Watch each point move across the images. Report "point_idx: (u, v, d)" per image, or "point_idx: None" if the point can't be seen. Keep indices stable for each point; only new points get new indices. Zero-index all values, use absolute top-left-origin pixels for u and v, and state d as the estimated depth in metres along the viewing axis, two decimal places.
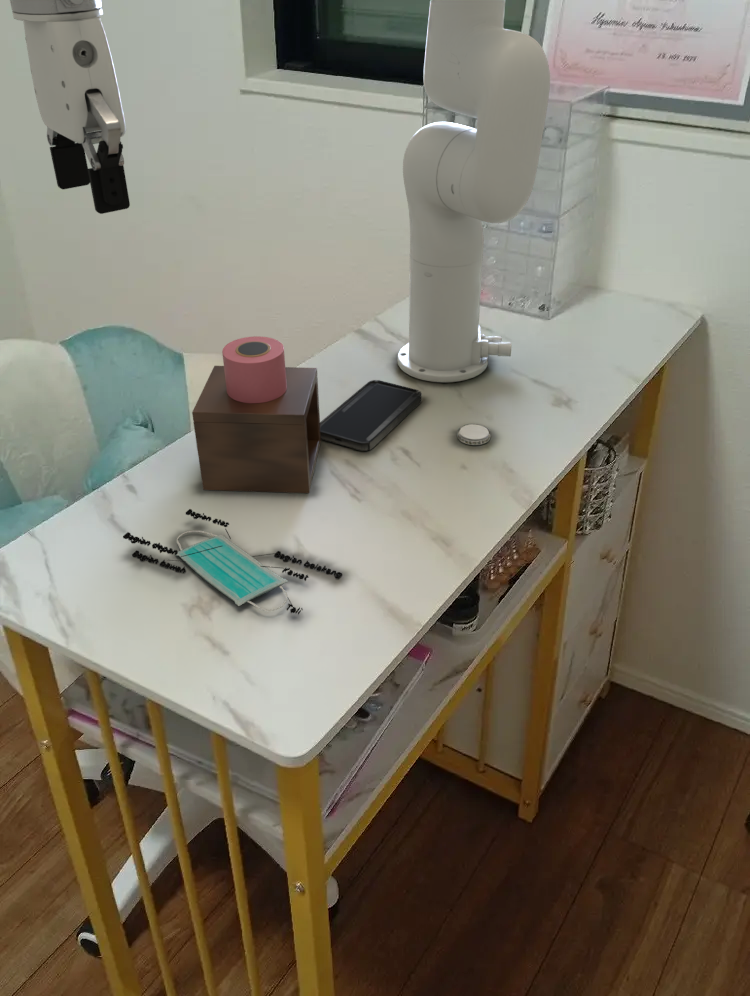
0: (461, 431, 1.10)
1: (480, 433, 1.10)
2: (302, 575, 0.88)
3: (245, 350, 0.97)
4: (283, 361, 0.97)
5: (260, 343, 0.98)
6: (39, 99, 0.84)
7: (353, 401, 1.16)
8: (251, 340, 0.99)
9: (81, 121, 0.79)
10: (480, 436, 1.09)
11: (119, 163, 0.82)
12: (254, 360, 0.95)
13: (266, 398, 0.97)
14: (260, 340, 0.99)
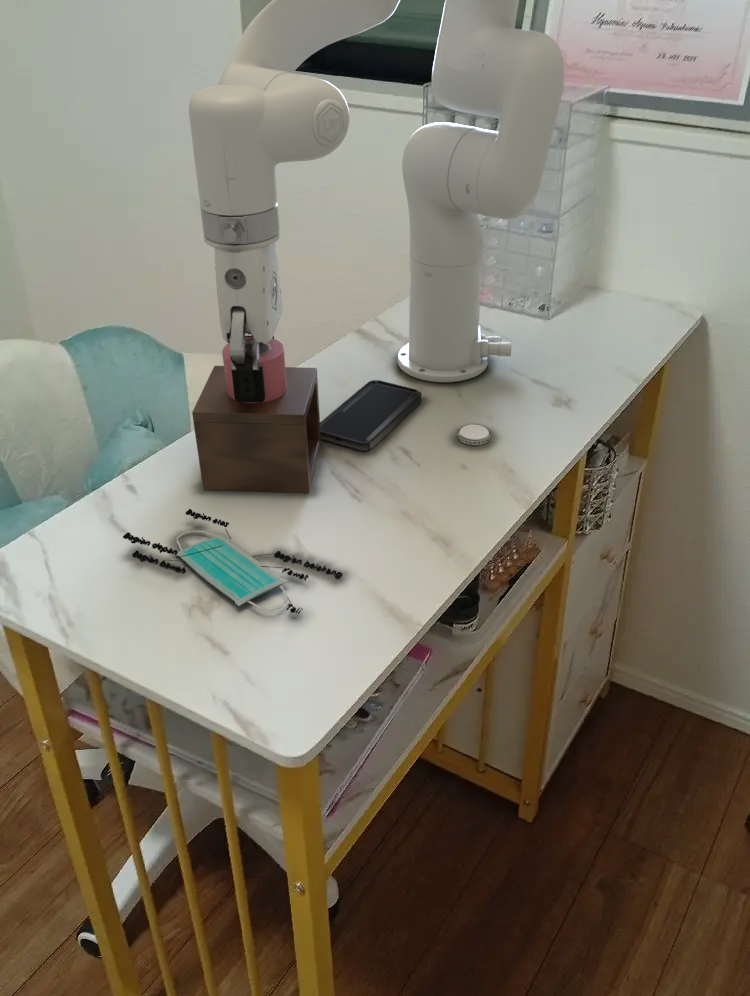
0: (461, 431, 1.10)
1: (480, 433, 1.10)
2: (302, 575, 0.88)
3: None
4: (283, 361, 0.97)
5: (260, 343, 0.98)
6: None
7: (353, 401, 1.16)
8: None
9: (227, 334, 0.91)
10: (480, 436, 1.09)
11: (253, 370, 0.93)
12: None
13: (266, 398, 0.97)
14: None
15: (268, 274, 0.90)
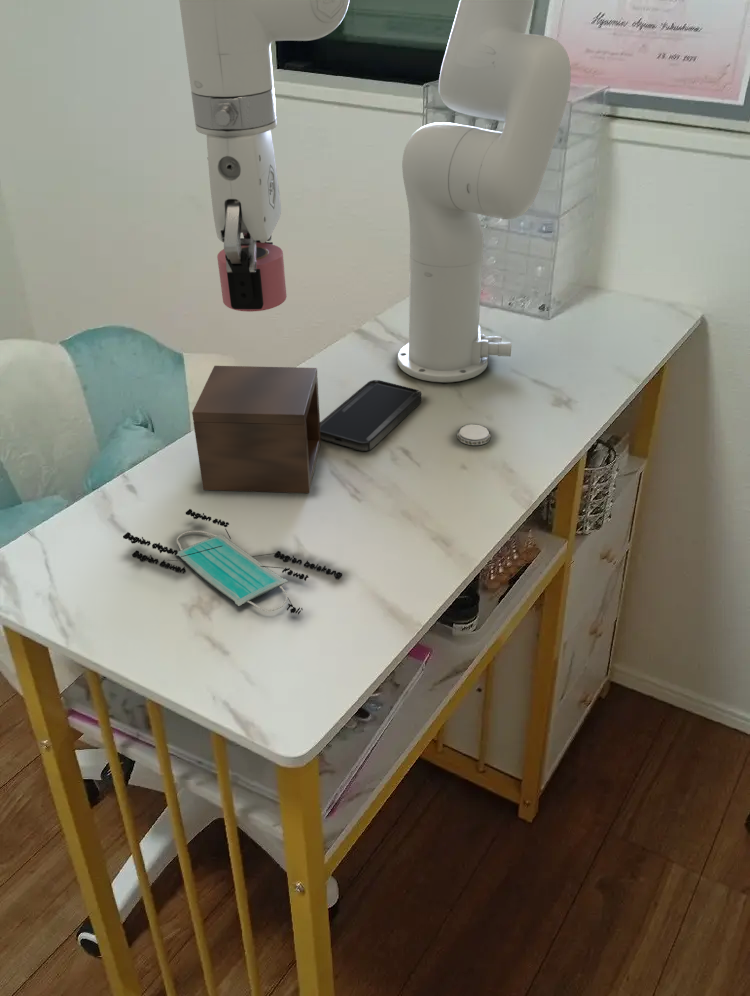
0: (461, 431, 1.10)
1: (480, 433, 1.10)
2: (302, 575, 0.88)
3: None
4: (282, 266, 0.92)
5: (258, 248, 0.92)
6: None
7: (353, 401, 1.16)
8: (248, 246, 0.93)
9: (221, 232, 0.85)
10: (480, 436, 1.09)
11: (250, 272, 0.87)
12: None
13: (265, 306, 0.92)
14: (258, 245, 0.93)
15: (265, 165, 0.84)
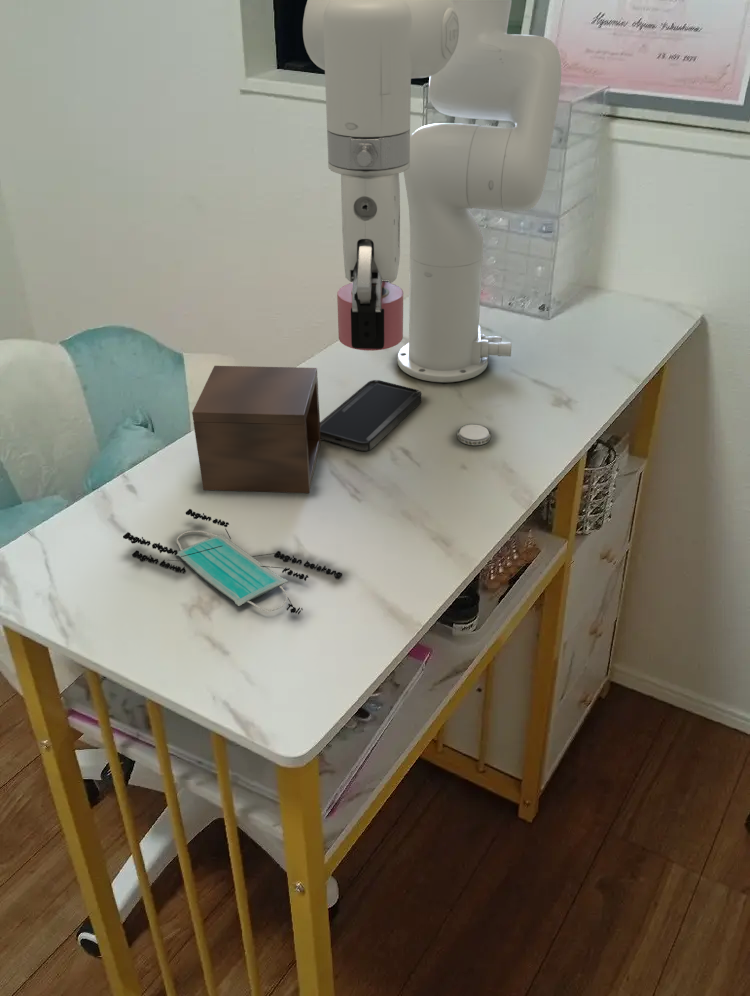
0: (461, 431, 1.10)
1: (480, 433, 1.10)
2: (302, 575, 0.88)
3: None
4: (402, 305, 0.90)
5: None
6: None
7: (353, 401, 1.16)
8: None
9: (350, 271, 0.84)
10: (480, 436, 1.09)
11: (376, 312, 0.86)
12: None
13: (384, 345, 0.90)
14: None
15: (397, 206, 0.83)
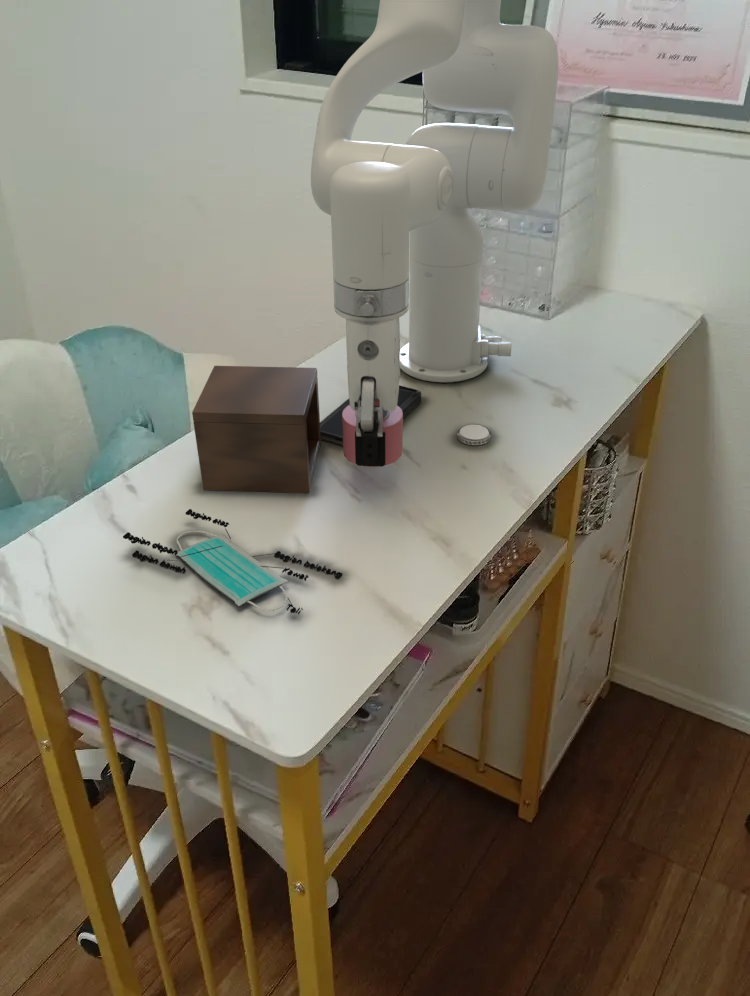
0: (461, 431, 1.10)
1: (480, 433, 1.10)
2: (302, 575, 0.88)
3: None
4: (402, 425, 0.98)
5: None
6: None
7: None
8: None
9: (354, 402, 0.92)
10: (480, 436, 1.09)
11: (378, 436, 0.94)
12: None
13: (385, 462, 0.98)
14: (378, 403, 1.00)
15: (397, 344, 0.91)
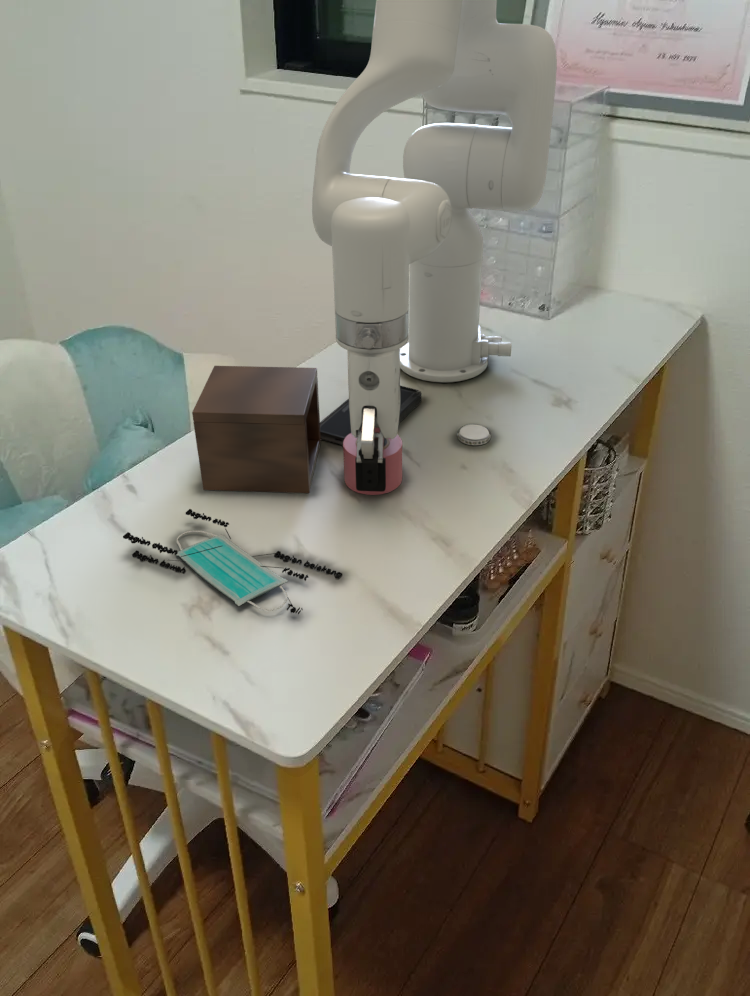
0: (462, 431, 1.10)
1: (480, 433, 1.10)
2: (302, 575, 0.88)
3: None
4: (401, 454, 1.01)
5: None
6: None
7: None
8: None
9: (355, 425, 0.94)
10: (480, 436, 1.09)
11: (378, 462, 0.95)
12: None
13: (385, 490, 1.00)
14: (378, 432, 1.02)
15: (397, 373, 0.93)
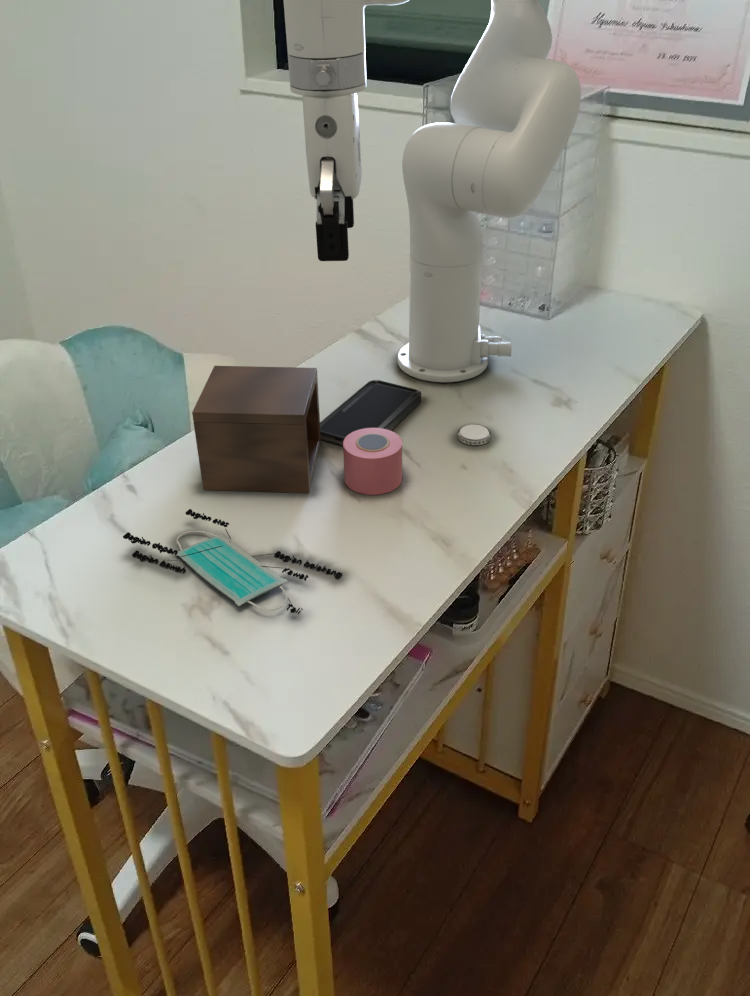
0: (462, 431, 1.10)
1: (480, 433, 1.10)
2: (302, 575, 0.88)
3: (365, 444, 1.00)
4: (401, 454, 1.01)
5: (378, 436, 1.01)
6: None
7: (353, 401, 1.16)
8: (369, 432, 1.02)
9: (314, 182, 0.90)
10: (480, 436, 1.09)
11: (339, 223, 0.91)
12: (376, 455, 0.98)
13: (385, 490, 1.00)
14: (378, 432, 1.02)
15: (356, 125, 0.89)
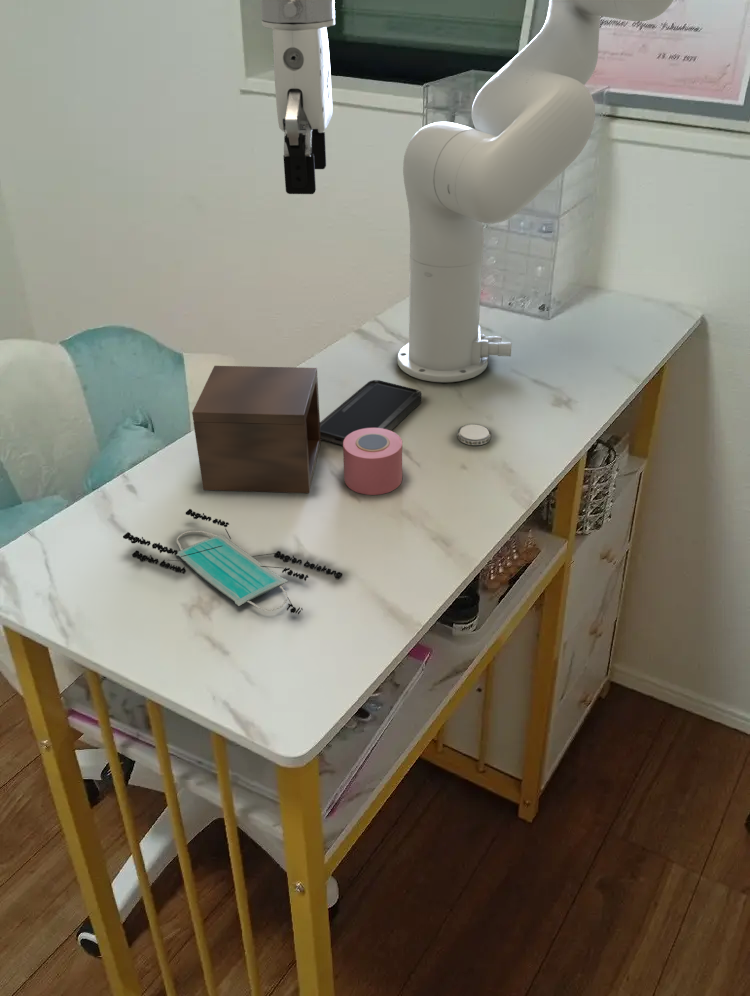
0: (462, 431, 1.10)
1: (480, 433, 1.10)
2: (302, 575, 0.88)
3: (365, 444, 1.00)
4: (401, 454, 1.01)
5: (378, 436, 1.01)
6: None
7: (353, 401, 1.16)
8: (369, 432, 1.02)
9: (282, 114, 0.93)
10: (480, 436, 1.09)
11: (305, 154, 0.94)
12: (376, 455, 0.98)
13: (385, 490, 1.00)
14: (378, 432, 1.02)
15: (324, 60, 0.93)
